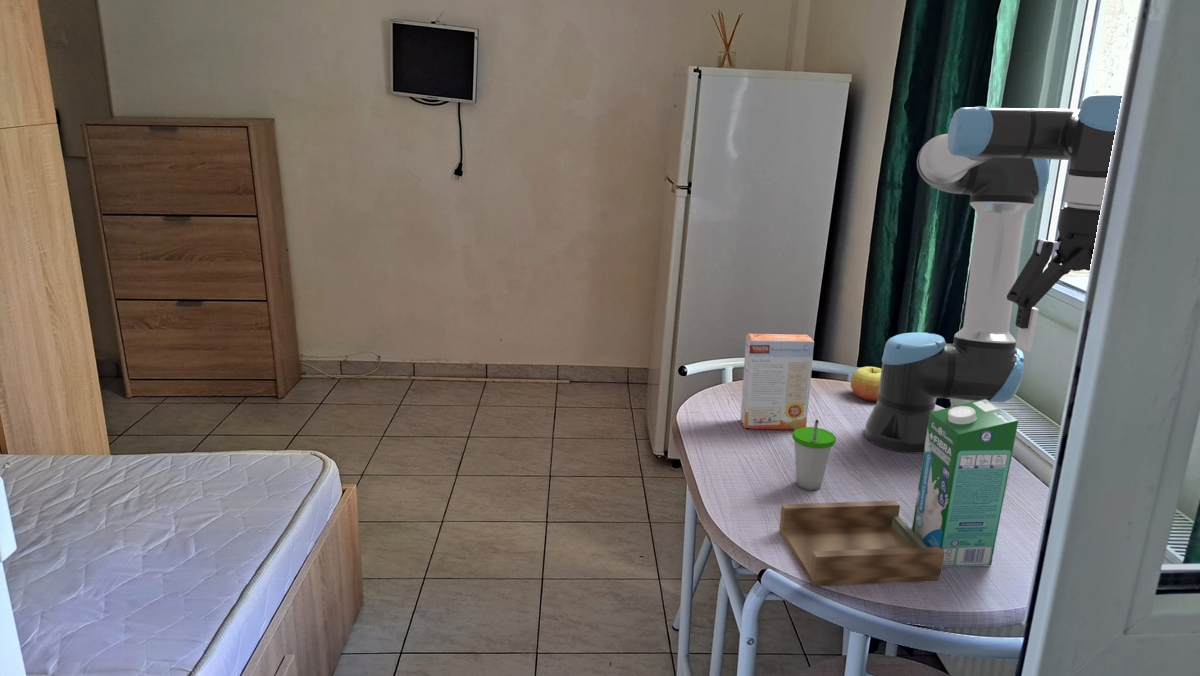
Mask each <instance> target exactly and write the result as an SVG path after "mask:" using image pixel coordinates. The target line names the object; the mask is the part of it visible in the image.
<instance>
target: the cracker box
mask: <svg viewBox="0 0 1200 676" xmlns="http://www.w3.org/2000/svg"><path fill="white" fill-rule="evenodd" d="M814 346H815V341H814V340H813V338H812V337H811V336H809V335H808V334H795V333H794V334H792V333H790V334H789V333H787V334H783V333H781V334H780V333H779V334H778V333H776V334H775V333H746V335H745V347H744V348H745V351H744V360H743V361H744V362H743V377H742V379H743V380H742V382H743V383H742V393H741V394H742V395H741V405H740V408H741V409H740V411H741V412H740V421H741V423H743V424H742V426H743V428H744V429H745V428H750V429H749V430H795V429H798V428H802V427H807V423H808V413H809V412H808V411H809V404H810V403H809V402H810V401H809V400H810V391H811V380H812V369H813V359H814V358H813V357H814Z"/></svg>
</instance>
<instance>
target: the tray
mask: <svg viewBox="0 0 1200 676" xmlns="http://www.w3.org/2000/svg"><path fill="white" fill-rule="evenodd" d="M900 507H901V504H899V502H898V501H897V500H881V501H877V500H876V501H873V500H872V501H846V502H845V501H843V502H812V503H810V502H809V503H807V502H806V503H781V509H780V518H779V519H780V520H779V527H778V528H779V529H778V530H779V532H780V534H781V536H782V538H783V539H784V541H785V543H786V544H787V546H788V548H789V549H790V551H791V552H792V555H793V556H794V557H795V559H796V561H797V563H798V564H799V566H800V568H801V569H802V571H803V572H804V574H805V576H806V577H807V579H808V580H809V583H810V584H811V586H812V587H826V586H828V587H829V586H849V585H850V586H852V585H853V586H854V585H873V584H874V585H876V584H877V585H878V584H879V585H880V584H900V583H901V584H903V583H924V582H925V583H927V582H928V583H929V582H940V581H941V576H942V575H941V574H942V570H943V567H942V565H943V559H944V553H945V552H944V551H943V550H942V549H941V548H940V547H927V546H926V545H925V544H924V543H923V542H922V541H921V540H920V539H919V538H918V537H917V535H916V534H915V533H914V532H913V531H912V528H911V527H910V526H908V525H907V523H906V522H905V521H904V520H903V519H902V518H901V517H900V516H899V513H900Z"/></svg>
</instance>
